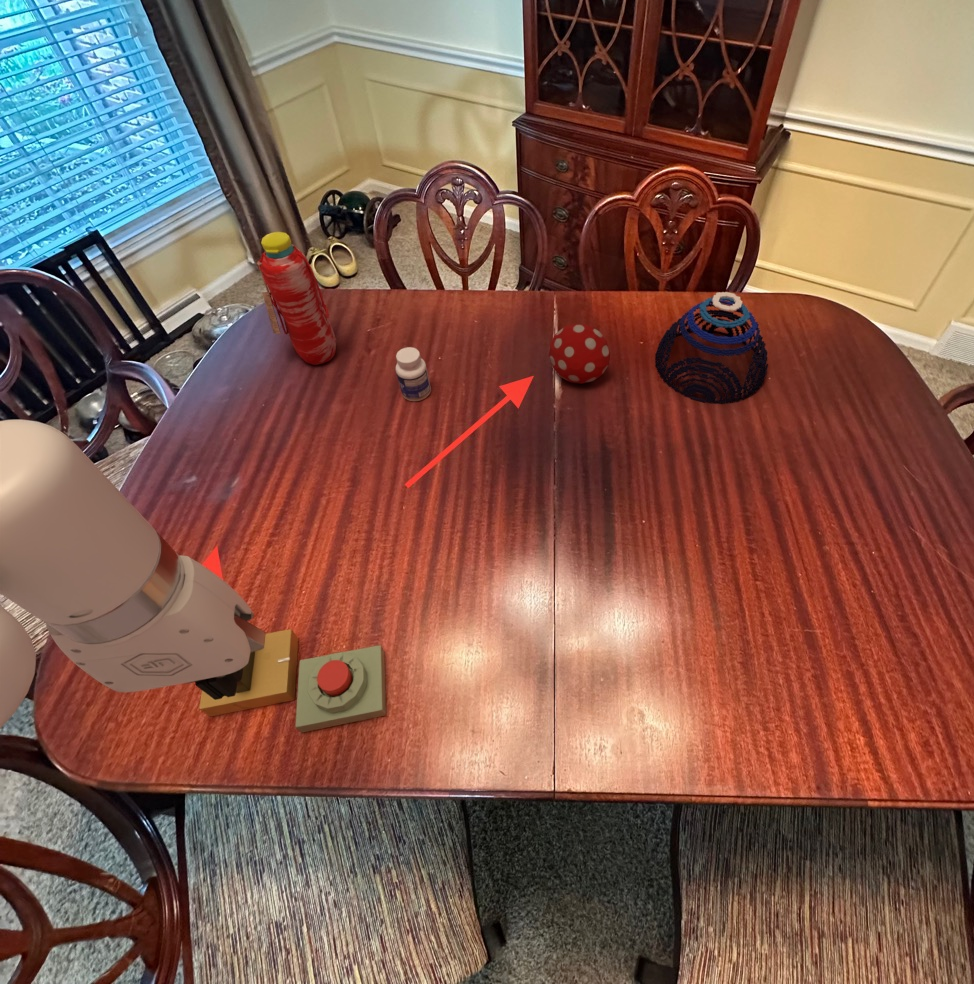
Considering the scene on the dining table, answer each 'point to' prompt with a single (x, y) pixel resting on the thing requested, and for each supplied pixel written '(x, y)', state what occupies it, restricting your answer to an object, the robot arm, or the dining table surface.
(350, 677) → the release button
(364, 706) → the button block
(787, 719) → the dining table surface
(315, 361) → the water bottle
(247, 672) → the block
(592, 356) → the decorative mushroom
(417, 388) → the pill bottle
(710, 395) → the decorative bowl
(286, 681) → the plate
